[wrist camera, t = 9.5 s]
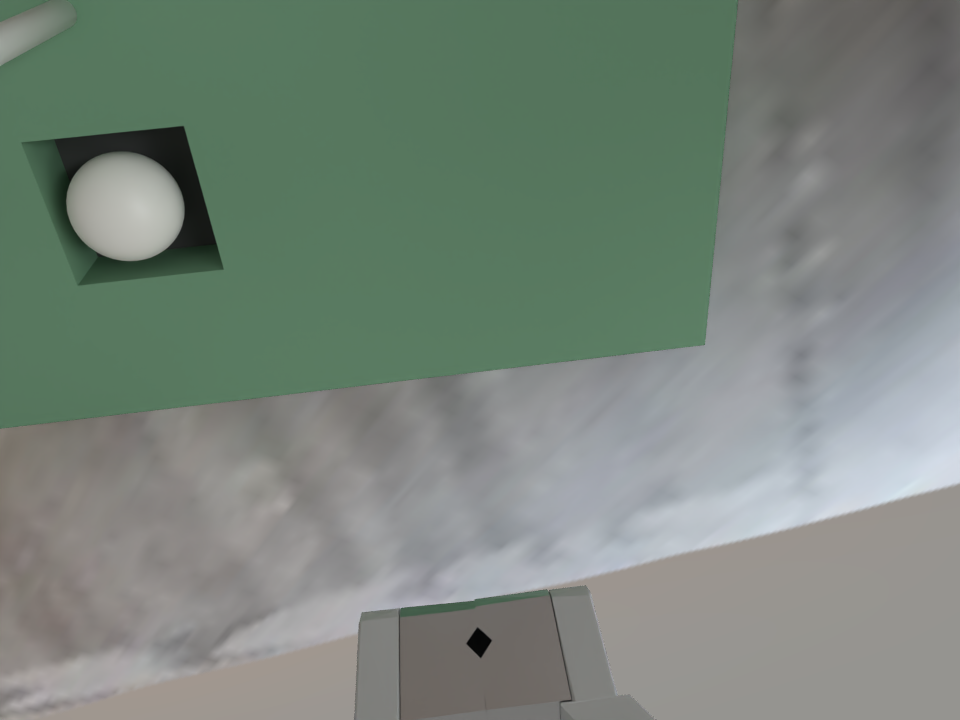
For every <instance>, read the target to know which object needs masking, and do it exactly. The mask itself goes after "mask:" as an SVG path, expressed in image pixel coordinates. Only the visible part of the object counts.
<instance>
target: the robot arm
mask: <svg viewBox="0 0 960 720" xmlns="http://www.w3.org/2000/svg"><path fill="white" fill-rule="evenodd" d="M354 720H656V719H655V718H654V717H653V716H652V715H651V714H650V713H649V712H648V711H647V710H645V709H644V708H643V707H642V706H641V705H640V704H639V703H638V702H637V701H636V700H635V699H634V698H633V697H631V695H618V694H617V690H616V687H615V683H614V679H613V675H612V672H611V668H610V664H609V660H608V656H607V653H606V649H605V645H604V641H603V638H602V634H601V630H600V626H599V622H598V619H597V615H596V611H595V608H594V604H593V600H592V596H591V593H590V591H589V589H588V588H587V586H577V587H570V588H562V589H553V590H549V592H548V590H547V589H546V590H539V591H533V592H525V593H517V594H510V595H503V596H496V597H488V598H481V599H475V601H468V602H458V603H447V604H437V605H427V606H417V607H406V608H401V609H400V608H398V609H389V610H380V611H371V612H362V614H361V618H360V622H359V631H358V651H357V673H356V693H355V714H354Z"/></svg>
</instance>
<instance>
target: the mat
mask: <svg viewBox="0 0 960 720" xmlns="http://www.w3.org/2000/svg"><path fill="white" fill-rule="evenodd" d="M737 6H738V0H0V429H1V428H10V427H18V426H27V425H35V424H44V423H52V422H60V421H69V420H77V419H86V418H94V417H102V416H111V415H119V414H128V413H136V412H145V411H153V410H161V409H170V408H178V407H187V406H195V405H203V404H212V403H220V402H229V401H237V400H246V399H254V398H262V397H271V396H279V395H288V394H296V393H304V392H313V391H321V390H330V389H338V388H347V387H355V386H363V385H372V384H380V383H389V382H397V381H406V380H414V379H422V378H431V377H439V376H448V375H456V374H464V373H473V372H481V371H490V370H498V369H507V368H515V367H523V366H532V365H540V364H549V363H557V362H565V361H574V360H582V359H591V358H599V357H608V356H616V355H624V354H633V353H641V352H650V351H658V350H666V349H675V348H683V347H692V346H700V345H705V338H706V328H707V317H708V307H709V297H710V286H711V276H712V265H713V255H714V245H715V234H716V224H717V213H718V203H719V193H720V182H721V172H722V161H723V151H724V141H725V130H726V120H727V110H728V99H729V89H730V78H731V68H732V58H733V47H734V37H735V26H736V16H737ZM117 151H125V152H133V153H138V154H141V155H144V156H146V157H148V158H150V159H153V160H154V161H156V162H157V163H159V164H160V165H162V166H163V167H164V168H165V169H166V170H167V171H168V172H169V173H170V174H171V175H172V177H173V178H174V179H175V181H176V182H177V184H178V186H179V188H180V190H181V193H182V196H183V200H184V208H185V211H184V220H183V225H182V228H181V230H180V232H179V234H178V236H177V238H176V239H175V240H174V241H173V243H172V244H171V245H170V246H169V247H168V248H167V249H165V250H164V251H163V252H161V253H159V254H158V255H156V256H153V257H151V258H148V259H144V260H139V261H121V260H116V259H112V258H109V257H106V256H103V255H101V254H99V253H97V252H96V251H94V250H93V249H91V248H90V247H89V246H87V245H86V244H85V243H84V242H83V241H82V240H81V239H80V237H79V236H78V235H77V233H76V232H75V230H74V229H73V227H72V225H71V223H70V220H69V217H68V213H67V205H66V198H67V191H68V188H69V184H70V182H71V180H72V178H73V176H74V175H75V173H76V172H77V171H78V170H79V169H80V168H81V167H82V165H84V164H85V163H86V162H87V161H89V160H91V159H92V158H94V157H96V156H99V155H101V154H104V153H109V152H117Z"/></svg>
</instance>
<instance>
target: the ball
mask: <svg viewBox="0 0 960 720" xmlns="http://www.w3.org/2000/svg"><path fill="white" fill-rule="evenodd" d="M66 205H67V213H68V217H69V220H70V223H71V225H72V227H73V229H74V230H75V232H76V233H77V235H78V236H79V237H80V239H81V240H82V241H83V242H84V243H85V244H86V245H87V246H89V247H90V248H91V249H93V250H94V251H96V252H97V253H99V254H101V255H103V256H106V257H109V258H112V259H116V260H121V261H139V260H144V259H148V258H151V257H153V256H156V255H158V254H159V253H161V252H163V251H164V250H165V249H167V248H168V247H169V246H170V245H171V244H172V243H173V241H174V240H175V239H176V238H177V236H178V234H179V232H180V230H181V228H182V225H183V220H184V211H185V208H184V200H183V196H182V193H181V190H180V188H179V186H178V184H177V182H176V181H175V179H174V178H173V177H172V175H171V174H170V173H169V172H168V171H167V170H166V169H165V168H164V167H163V166H162V165H160V164H159V163H157V162H156V161H154V160H153V159H150V158H148V157H146V156H144V155H141V154H138V153H133V152H125V151H117V152H109V153H104V154H101V155H99V156H96V157H94V158H92V159H91V160H89V161H87V162H86V163H85V164H84V165H82V167H81V168H80V169H79V170H78V171H77V172H76V173H75V175H74V176H73V178H72V180H71V182H70V184H69V188H68V191H67V198H66Z"/></svg>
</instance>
